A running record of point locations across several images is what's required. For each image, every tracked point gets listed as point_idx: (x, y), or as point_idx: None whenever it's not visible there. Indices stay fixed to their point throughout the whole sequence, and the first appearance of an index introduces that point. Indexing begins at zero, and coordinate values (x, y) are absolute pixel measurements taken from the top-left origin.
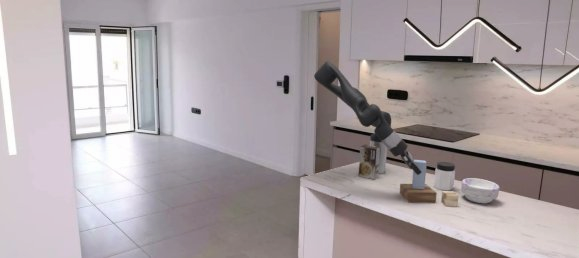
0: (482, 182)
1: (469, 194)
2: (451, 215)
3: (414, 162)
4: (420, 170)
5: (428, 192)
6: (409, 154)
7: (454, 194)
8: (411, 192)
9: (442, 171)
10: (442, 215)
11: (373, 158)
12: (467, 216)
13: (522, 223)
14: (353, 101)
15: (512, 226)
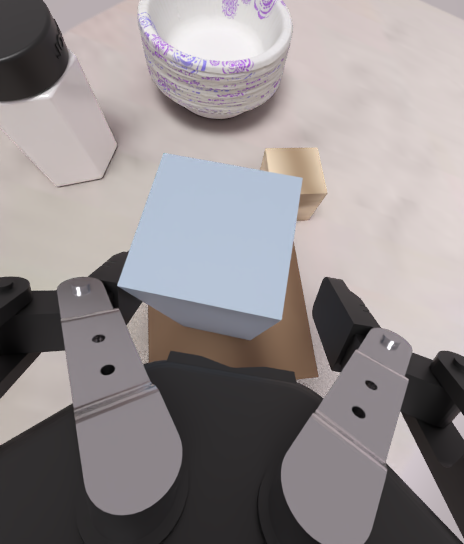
0: (167, 1)
1: (258, 101)
2: (400, 232)
3: (261, 318)
4: (334, 282)
5: (293, 265)
6: (381, 480)
7: (307, 159)
8: (314, 363)
9: (55, 93)
10: (412, 265)
11: None
12: (392, 183)
13: (396, 65)
14: None
15: (429, 97)
